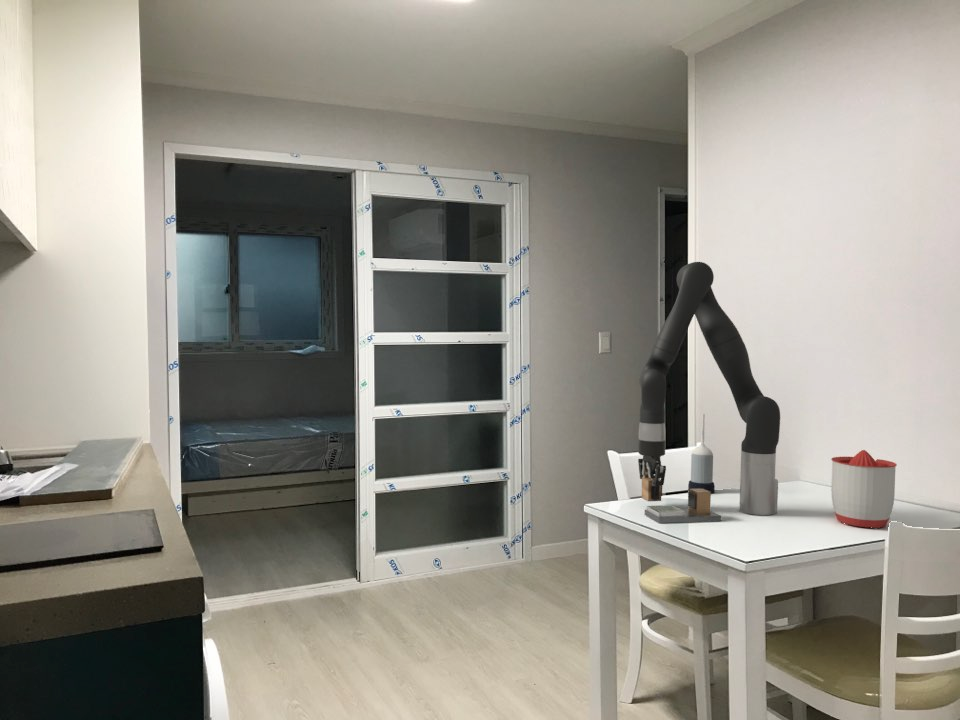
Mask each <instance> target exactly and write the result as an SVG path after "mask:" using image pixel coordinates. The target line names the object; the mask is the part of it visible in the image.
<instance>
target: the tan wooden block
mask: <svg viewBox="0 0 960 720" xmlns="http://www.w3.org/2000/svg"><path fill="white" fill-rule="evenodd" d="M660 481H661V479H660ZM662 496H663V485H661V486H659V499H657V500H653V499H651V479H650V478H649V477H642V479H641V499H643V500H644V501H647V502H662Z"/></svg>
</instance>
